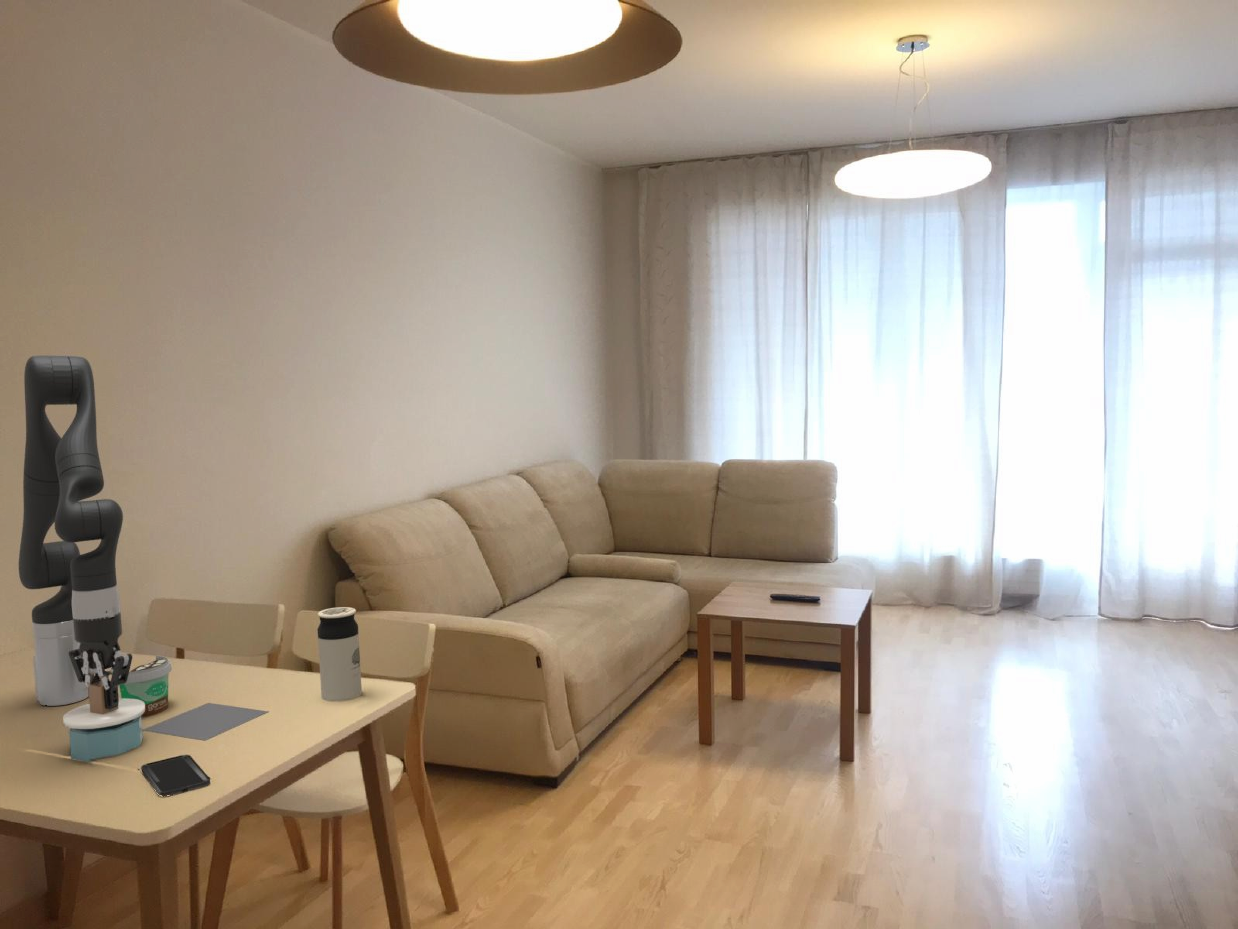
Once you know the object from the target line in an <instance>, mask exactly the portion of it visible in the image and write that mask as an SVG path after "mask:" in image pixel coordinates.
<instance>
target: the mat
mask: <svg viewBox="0 0 1238 929" xmlns="http://www.w3.org/2000/svg"><path fill="white" fill-rule="evenodd" d="M268 713H270V711H268V710H261V709H255V708H247V707H242V706H241V707H240V706H233V705H227V704H220V703H212V702H206V703H204V704H203V705H200V706H197V707H194V708H192V709H190V710H187V711H185V712H182V713H180V714H177V715H175V716H172V717H170V718H167V719H165V720H163V721H161V722H157V723H155V724H152V725H150V726H147V727H146V728H142V732H151V733H155V734H160V735H161V734H162V735H167V736H173V737H179V738H180V737H181V738H186V739H192V740H198V741H203V742H205V741H208V740H210V739H212V738H215V737H218V735H221V734H223V733H225V732H228V731H230V730H232V729H235V728H237V727H239V726H240V725H243V724H245V723H248V722H250V721H252V720H255V719H258V717H262V716H264V715H266V714H268Z"/></svg>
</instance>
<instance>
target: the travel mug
mask: <svg viewBox="0 0 1238 929" xmlns="http://www.w3.org/2000/svg"><path fill="white" fill-rule="evenodd" d="M356 612H357V610H356V608H354V607H349V606H346V607H345V606H342V607H341V606H339V607H338V606H337V607H331V608H325V609H322V610H319V611H318V613H317V616H318V617H319V620H320V623H319V625H318V627H317V642H318V643H317V644H318V659H319V660H318V661H319V662H318V663H319V678H320V680H319V681H320V694H321V699H322V700H323V701H326V702H343V701H349V700H354V699H356V698H358V697H361V696H362V694H363V690H362V672H361V654H360V653H361V652H360V637H359V624H358V623H357V620H356V619H355V616H356Z"/></svg>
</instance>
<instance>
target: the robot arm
mask: <svg viewBox="0 0 1238 929" xmlns="http://www.w3.org/2000/svg"><path fill="white" fill-rule="evenodd" d="M24 366H25V367H24V375H23V380H24V381H23V382H24V383H23V384H24V386H23V387H24V403H25V404H24V405H25V410H24V411H25V432H26V433H25V446H24V449H25V450H24V460H23V463H24V464H23V482H22V484H23V486H22V487H23V489H22V490H23V491H22V492H23V513H22V514H23V515H22V516H23V519H22V530H21V536H20V537H21V538H20V545H19V557H18V576H19V579H20V580H19V581H20V583H21V585H22V586H23V588H26V589H28V590H41V589H43V590H44V589H49V588H56V587H60V589H59V590H58V592H56V594H55V595H54V596H52V597H51V598H49V599H46V601H43V602H41V603H39V604H37V605H35V606H34V607H33V608H32V609H31V624H32V632H33V633H32V634H33V642H34V644H33V645H34V653H35V654H34V656H33V657H32V662H33V664H32V665H33V673H34V685H35V692H36V693H35V695H36V701H37V702H39V704H40V705H42V706H45V705H47V706H46V707H54V706H56V707H57V706H65V705H69V704H70V705H71V704H74V703H77V702H80V701H83V700H85V699H87V698H89V690H88V685H90V684H93V683H96V682H99V681H103V686H104V701H105V708H106V709H109V710H110V709H113V708H115V707H117V706H118V703H119V699H120V698H119V697H120V696H119V685H121V684H124V683H126V682H127V679H128V674H129V672H130V671H131V664H132V661H133V655H132V654H131V653H126V654H125V653H124V652H123V651H122V650H121V647H120V644H119V642H118V641H119V638H120V637H121V636H122V634H123V626H122V625H123V624H122V612H121V611H122V610H121V600H120V593H119V590H118V583H117V582H118V581H117V571H116V568H117V567H116V555H117V550H118V549H117V548H118V544H119V538H120V535H121V532H122V526H123V522H124V513H123V510H122V507H121V506H120V504H119V503H118V502H117V501H116V500H113V499H111V498H106V499H105V498H104V499H103V498H102V499H94V500H86V499H89V498H93V497H94V496H97V495H98V494H100V493H101V492H102V491H103V489H104V486H105V479H104V475H103V470H102V465H101V464H102V463H101V459H100V455H99V448H98V439H97V438H98V437H97V435H98V432H97V412H96V411H97V410H96V393H95V381H94V372H93V370H92V366H91V364H90V362H89V361H88V360H87V358H86V357H83V356H75V355H73V356H72V355H33V356H30V357H29V358H28V359H27V361H26V363H25V365H24ZM48 405H49V406H50V405H51V406H52V405H53V406H58V405H59V406H61V405H62V406H63V405H65V406H68V405H76V413H75V416H74V418H73V419H72V422H71V423H70V424H69V427H68V428H67V430H66V431H65V432H64V434H63V435H62V437H61V436H60V434H58V432H57V431H56V429H55V428H54V426H53V425H52V423H51V422H50V418H48V415H47V412H46V407H47V406H48ZM53 524H54V530H55V531H54V532H55V533H56V535H57V536H58V537H59V538H60V539H61V541H60V540H59V541H51V542H50V541H49V542H44V541H45V540H46V536H47V534H48V532H49V530H50V529H51V527H52V526H53ZM98 540H99V541H100V543H99V544H98V546H97V547H96V548H95V549H93V550H91V551H88V552H86V553H82V554H81V552H80V549H79V547H78V545H77V543H78V542H88V541H89V542H90V541H98ZM110 668H111V669H110ZM108 669H109V670H108ZM110 675H111V678H110V677H109V676H110ZM120 675H121V677H120V678H119V676H120Z"/></svg>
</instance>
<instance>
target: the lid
mask: <svg viewBox="0 0 1238 929" xmlns="http://www.w3.org/2000/svg"><path fill="white" fill-rule="evenodd" d="M88 690H89V696H88V703H86V704H84V705H79V706H78V707H75V708H72V709H70V710H68V711H67V712H66V713H65V714H64V715H62V723H63V726H64V727H66V728H69V729H70V728H73V729H95V728H102V727H108V726H113V725H117V724H121V723H124V722H127V721H130V720H133V719H135V718H137V717H139V716H140V715H142V714H143V713H144V712H145V703H144V702H143V701H141V700H138V699H129V698H123V699H121V698H118V699H119V703H118V706H117V707H115V708H113V709H110V710H109V709H106V708H105V701H104V686H103V681H99V682H96V683H93V684H90V685H88Z"/></svg>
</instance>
